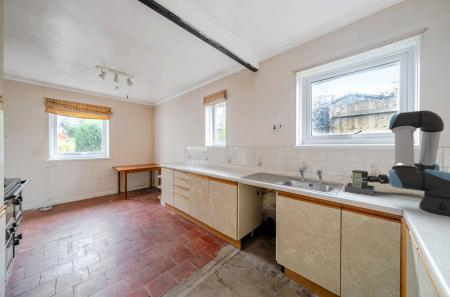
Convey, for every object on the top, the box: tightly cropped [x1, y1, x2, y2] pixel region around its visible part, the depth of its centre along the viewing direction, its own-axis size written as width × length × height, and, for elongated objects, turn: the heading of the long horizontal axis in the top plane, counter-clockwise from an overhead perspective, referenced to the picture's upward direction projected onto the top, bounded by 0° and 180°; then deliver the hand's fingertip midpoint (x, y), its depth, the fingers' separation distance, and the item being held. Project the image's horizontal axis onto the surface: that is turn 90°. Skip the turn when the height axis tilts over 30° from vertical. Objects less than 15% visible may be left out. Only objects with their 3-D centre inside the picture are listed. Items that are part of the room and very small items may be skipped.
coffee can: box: [351, 169, 369, 189], centre depth 137 cm, size 10×10×14 cm
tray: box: [344, 182, 376, 196], centre depth 137 cm, size 18×18×4 cm
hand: (353, 178), depth 138 cm, fingers closed on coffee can, 10 cm apart
